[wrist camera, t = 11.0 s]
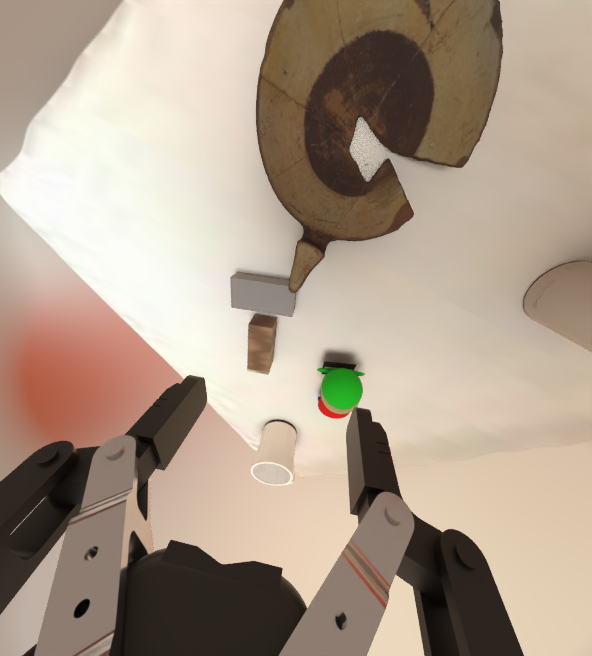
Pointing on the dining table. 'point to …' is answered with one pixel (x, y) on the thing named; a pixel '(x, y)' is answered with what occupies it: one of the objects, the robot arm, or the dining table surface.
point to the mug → (275, 454)
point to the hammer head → (262, 294)
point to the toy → (339, 389)
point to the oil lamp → (369, 106)
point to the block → (261, 343)
